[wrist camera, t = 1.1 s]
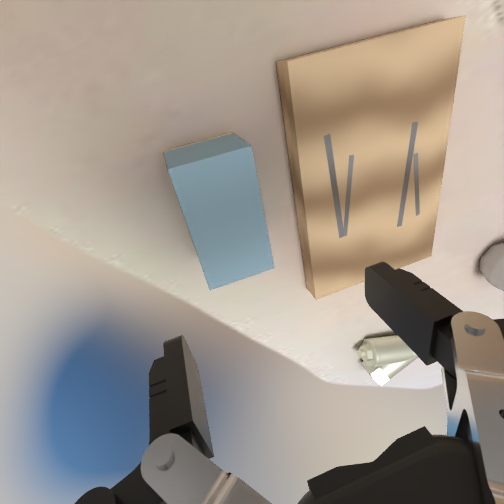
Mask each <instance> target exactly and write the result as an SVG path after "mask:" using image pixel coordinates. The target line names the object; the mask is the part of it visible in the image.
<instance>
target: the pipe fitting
mask: <svg viewBox="0 0 504 504" xmlns="http://www.w3.org/2000/svg"><path fill="white" fill-rule="evenodd" d="M358 356H359V357H360V358H361V359H362V360H363V362H362V365H363V366H364V368H365V369H366V370H367V372H368V373H369V374H370V375H371V377H372V378H373V379H374V380H375V381H376V382H377V383H378V385H380V386H382V385H383V384H385V383H386V382H387V381H389V380H390V379H391V378H392V377H393V376H394V375H396V374H397V373H398V372H400V371H401V370H402V369H404V368H405V367H406V366H408V365H409V364H410V363H411V362H413V361H414V360H415V359H417V358H418V356H417V355H416V354H415V353H414V352H413V351H412V350H411V349H410V348H409V347H408V346H407V345H406V343H405V342H404V341H403V340H402V339H401V338H400V337H399V336H398V335H393V336H385V337H376V338H368V339H364V340H363V343H362V346H361V347H359V350H358Z"/></svg>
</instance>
